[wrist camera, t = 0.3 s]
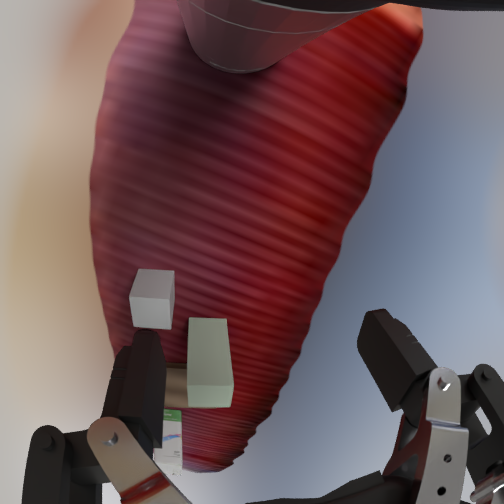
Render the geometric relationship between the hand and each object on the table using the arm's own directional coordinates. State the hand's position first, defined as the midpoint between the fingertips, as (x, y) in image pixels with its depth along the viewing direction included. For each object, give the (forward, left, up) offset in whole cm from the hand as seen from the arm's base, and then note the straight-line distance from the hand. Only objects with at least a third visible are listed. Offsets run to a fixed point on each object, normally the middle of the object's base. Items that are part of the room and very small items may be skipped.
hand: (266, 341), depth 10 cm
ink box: (+44, -8, -19) cm, 49 cm away
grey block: (+11, -7, -19) cm, 23 cm away
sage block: (+18, -1, -19) cm, 26 cm away
